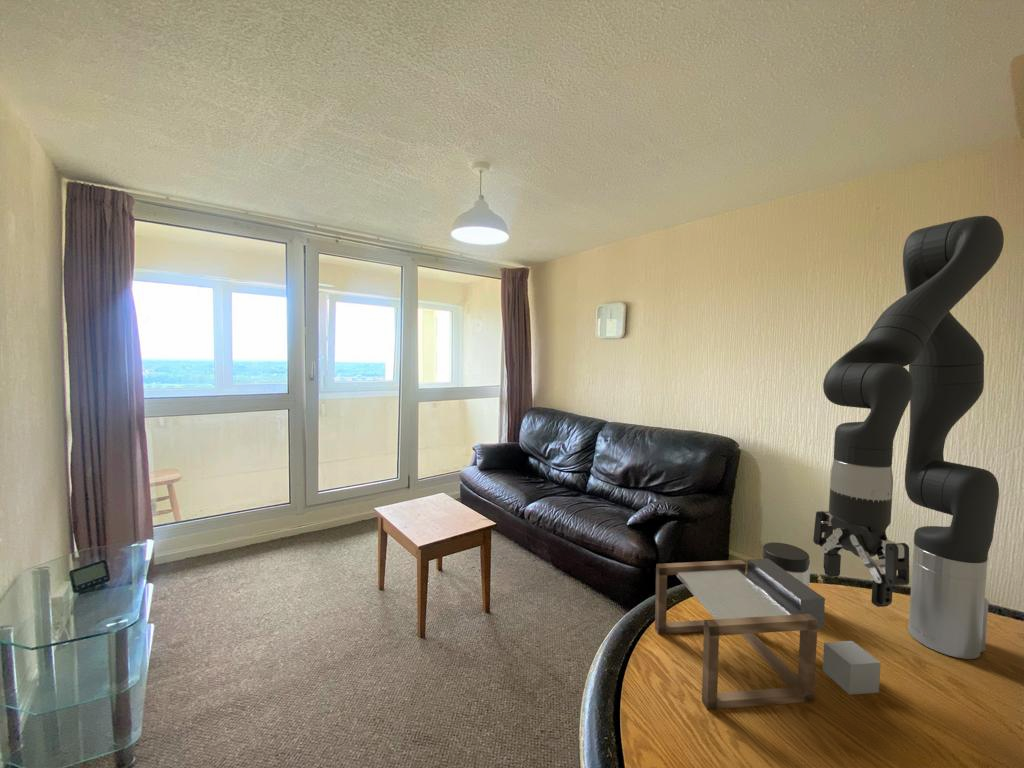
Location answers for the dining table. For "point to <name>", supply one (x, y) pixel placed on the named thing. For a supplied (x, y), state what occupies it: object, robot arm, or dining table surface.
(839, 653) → the gray cube
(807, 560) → the jar
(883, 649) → the dining table surface
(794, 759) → the dining table surface
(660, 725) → the dining table surface
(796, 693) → the frame
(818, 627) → the trapdoor
